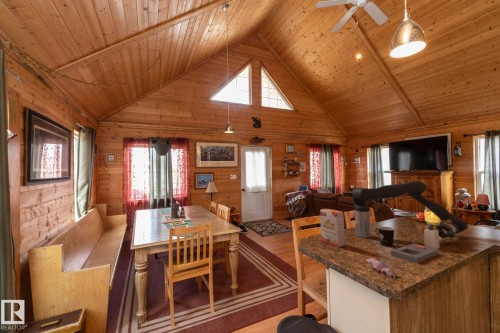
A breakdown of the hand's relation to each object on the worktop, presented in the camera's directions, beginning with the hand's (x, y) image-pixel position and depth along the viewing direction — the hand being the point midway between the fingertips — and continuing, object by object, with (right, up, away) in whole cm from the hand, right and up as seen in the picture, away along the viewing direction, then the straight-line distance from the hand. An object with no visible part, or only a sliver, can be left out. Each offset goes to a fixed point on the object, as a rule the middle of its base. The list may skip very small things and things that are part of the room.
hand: (433, 234), depth 128 cm
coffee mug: (-23, -8, +7) cm, 26 cm away
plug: (-2, -7, -1) cm, 7 cm away
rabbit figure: (-47, -8, -29) cm, 56 cm away
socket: (-19, -7, -11) cm, 23 cm away
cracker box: (-54, -9, +11) cm, 56 cm away
